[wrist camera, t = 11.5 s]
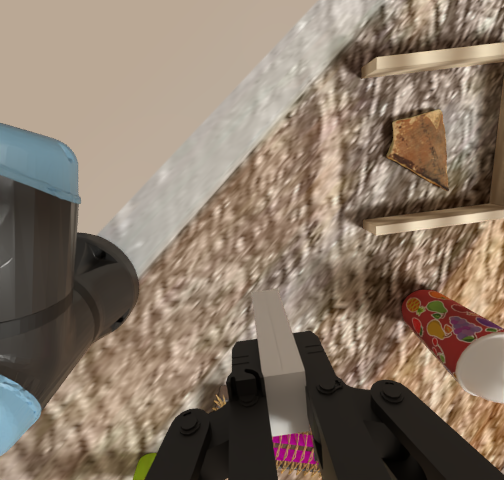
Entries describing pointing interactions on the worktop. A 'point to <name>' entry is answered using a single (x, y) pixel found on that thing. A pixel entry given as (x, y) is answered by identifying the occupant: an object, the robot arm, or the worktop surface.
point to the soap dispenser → (144, 466)
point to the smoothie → (459, 342)
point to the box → (500, 201)
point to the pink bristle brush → (287, 456)
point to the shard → (421, 146)
